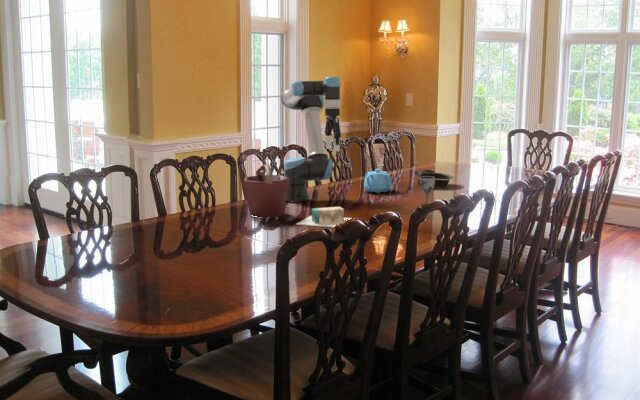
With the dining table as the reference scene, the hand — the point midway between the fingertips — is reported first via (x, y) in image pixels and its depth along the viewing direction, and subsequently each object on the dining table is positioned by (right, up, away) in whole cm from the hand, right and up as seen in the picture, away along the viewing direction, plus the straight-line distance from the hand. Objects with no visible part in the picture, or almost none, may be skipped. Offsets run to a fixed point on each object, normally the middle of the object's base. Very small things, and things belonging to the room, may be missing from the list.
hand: (332, 149), depth 349 cm
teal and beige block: (+4, -32, -23) cm, 40 cm away
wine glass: (+50, -29, +12) cm, 59 cm away
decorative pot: (+27, -21, +53) cm, 64 cm away
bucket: (-33, -33, -7) cm, 47 cm away
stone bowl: (+64, -17, +70) cm, 96 cm away
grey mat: (-3, -36, -25) cm, 44 cm away
